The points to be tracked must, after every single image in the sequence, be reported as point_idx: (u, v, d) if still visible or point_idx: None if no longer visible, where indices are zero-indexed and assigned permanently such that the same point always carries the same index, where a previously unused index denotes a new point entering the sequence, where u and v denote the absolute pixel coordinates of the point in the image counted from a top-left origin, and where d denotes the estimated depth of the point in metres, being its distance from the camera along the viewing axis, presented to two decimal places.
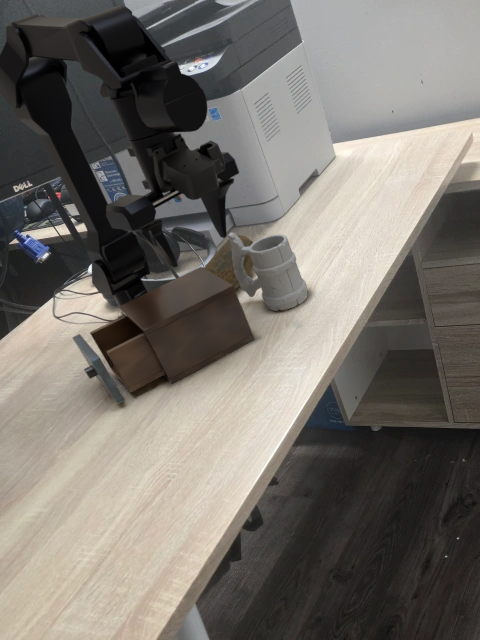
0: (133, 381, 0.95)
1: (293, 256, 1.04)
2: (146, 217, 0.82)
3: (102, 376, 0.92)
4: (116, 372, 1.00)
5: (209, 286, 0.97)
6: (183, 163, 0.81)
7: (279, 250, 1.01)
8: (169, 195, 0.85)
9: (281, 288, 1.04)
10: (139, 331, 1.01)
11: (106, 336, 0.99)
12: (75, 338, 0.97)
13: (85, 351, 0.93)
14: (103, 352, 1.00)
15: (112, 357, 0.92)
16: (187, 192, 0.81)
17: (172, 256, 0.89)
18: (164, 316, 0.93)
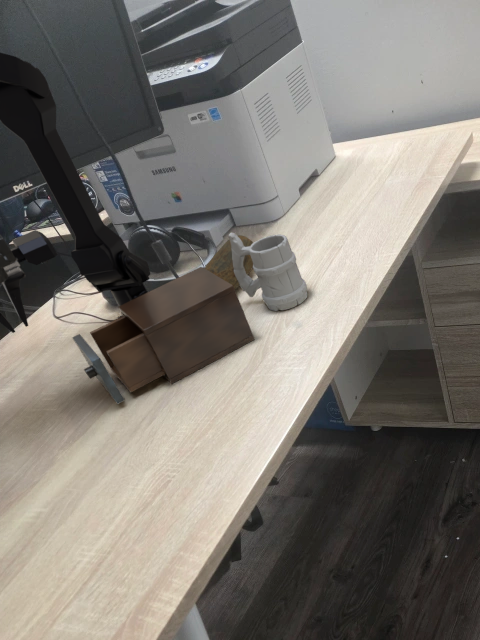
0: (133, 381, 0.95)
1: (293, 256, 1.04)
2: None
3: (102, 376, 0.92)
4: (116, 372, 1.00)
5: (209, 286, 0.97)
6: None
7: (279, 250, 1.01)
8: None
9: (281, 288, 1.04)
10: (139, 331, 1.01)
11: (106, 336, 0.99)
12: (75, 338, 0.97)
13: (85, 351, 0.93)
14: (103, 352, 1.00)
15: (112, 357, 0.92)
16: None
17: (6, 323, 0.90)
18: (164, 316, 0.93)
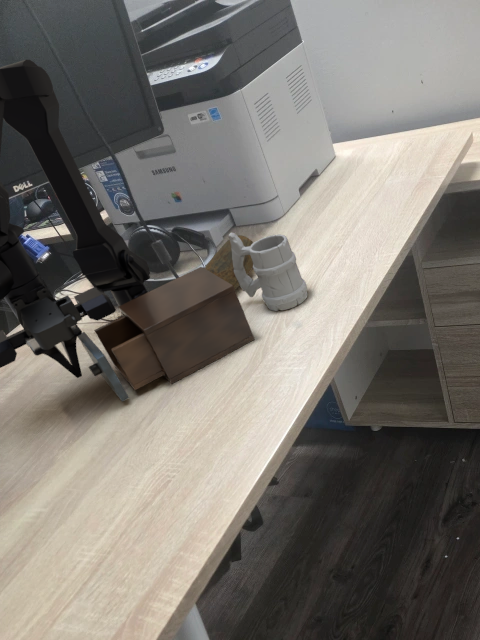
0: (138, 379, 0.95)
1: (293, 256, 1.04)
2: (6, 359, 0.90)
3: (107, 374, 0.92)
4: (120, 370, 1.00)
5: (209, 286, 0.97)
6: (36, 317, 0.87)
7: (279, 250, 1.01)
8: None
9: (281, 288, 1.04)
10: None
11: (110, 334, 0.99)
12: (80, 336, 0.97)
13: (90, 349, 0.93)
14: (107, 350, 1.00)
15: (117, 355, 0.92)
16: (38, 343, 0.88)
17: (72, 370, 0.98)
18: (164, 316, 0.93)
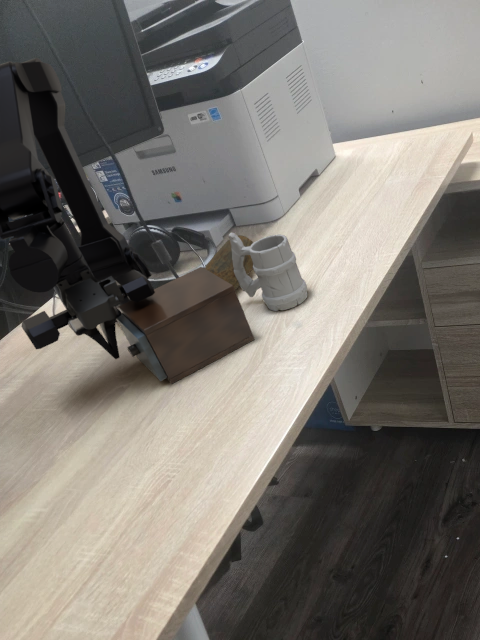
0: None
1: (293, 256, 1.04)
2: (49, 338, 0.92)
3: (147, 353, 0.94)
4: None
5: (209, 286, 0.97)
6: (81, 297, 0.89)
7: (279, 250, 1.01)
8: None
9: (281, 288, 1.04)
10: None
11: None
12: (118, 317, 0.99)
13: (130, 329, 0.95)
14: None
15: None
16: (82, 323, 0.90)
17: (111, 351, 0.99)
18: (164, 316, 0.93)
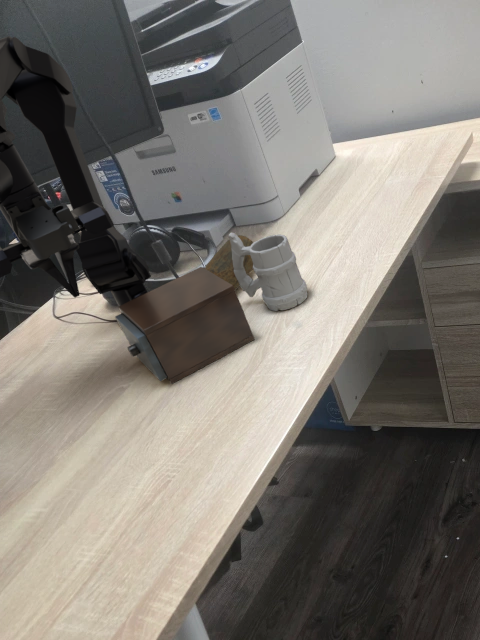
0: None
1: (293, 256, 1.04)
2: (1, 270, 0.87)
3: (147, 353, 0.94)
4: None
5: (209, 286, 0.97)
6: (32, 224, 0.84)
7: (279, 250, 1.01)
8: None
9: (281, 288, 1.04)
10: None
11: None
12: (118, 317, 0.99)
13: (130, 329, 0.95)
14: None
15: None
16: (34, 252, 0.85)
17: (69, 288, 0.95)
18: (164, 316, 0.93)
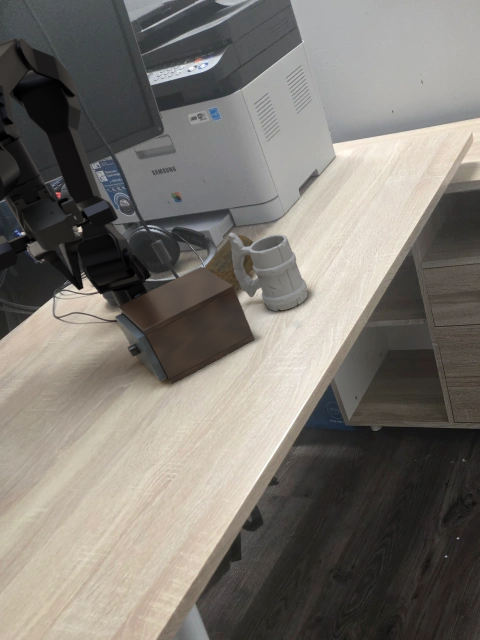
0: None
1: (293, 256, 1.04)
2: (6, 261, 0.88)
3: (147, 353, 0.94)
4: None
5: (209, 286, 0.97)
6: (37, 216, 0.86)
7: (279, 250, 1.01)
8: None
9: (281, 288, 1.04)
10: None
11: None
12: (118, 317, 0.99)
13: (130, 329, 0.95)
14: None
15: None
16: (39, 243, 0.86)
17: (73, 281, 0.96)
18: (164, 316, 0.93)
